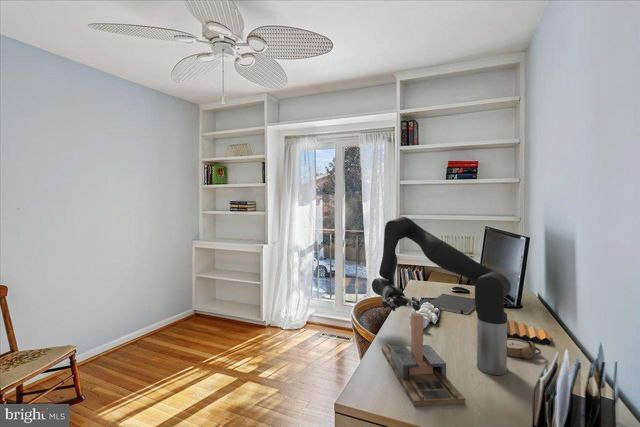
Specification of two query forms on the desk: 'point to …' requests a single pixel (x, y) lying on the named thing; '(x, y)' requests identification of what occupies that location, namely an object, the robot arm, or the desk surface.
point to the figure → (426, 313)
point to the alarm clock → (521, 348)
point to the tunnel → (406, 360)
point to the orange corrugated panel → (527, 333)
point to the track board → (426, 386)
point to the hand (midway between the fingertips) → (405, 308)
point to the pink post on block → (418, 346)
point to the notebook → (454, 303)
